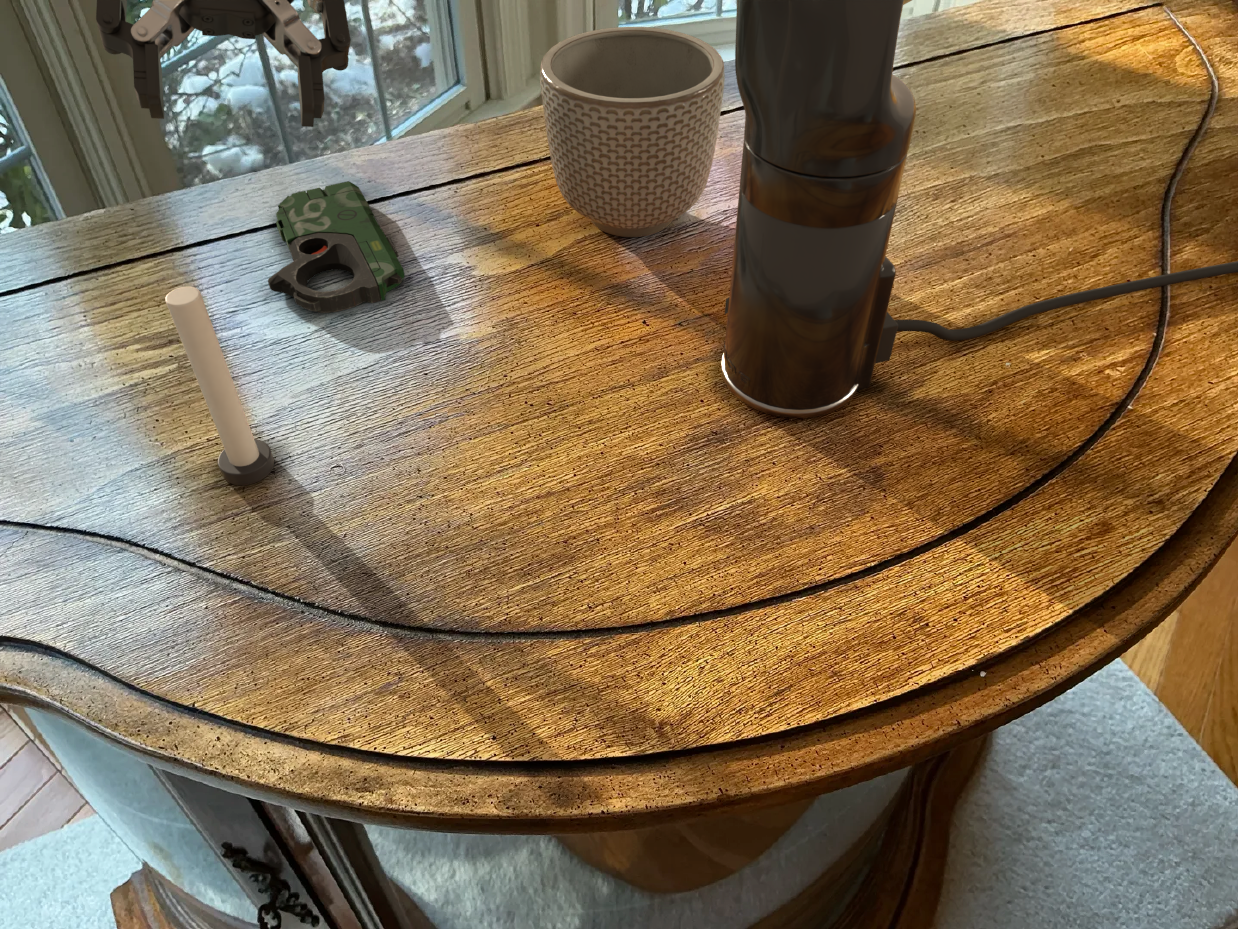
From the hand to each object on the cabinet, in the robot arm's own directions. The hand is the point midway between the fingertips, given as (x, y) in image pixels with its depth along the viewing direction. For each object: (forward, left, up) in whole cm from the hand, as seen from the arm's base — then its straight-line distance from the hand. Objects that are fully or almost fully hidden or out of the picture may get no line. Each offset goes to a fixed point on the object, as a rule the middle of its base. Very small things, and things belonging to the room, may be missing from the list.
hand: (234, 115), depth 59 cm
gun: (-3, -10, -17) cm, 20 cm away
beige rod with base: (+4, +13, -17) cm, 21 cm away
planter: (-28, -8, -17) cm, 34 cm away
